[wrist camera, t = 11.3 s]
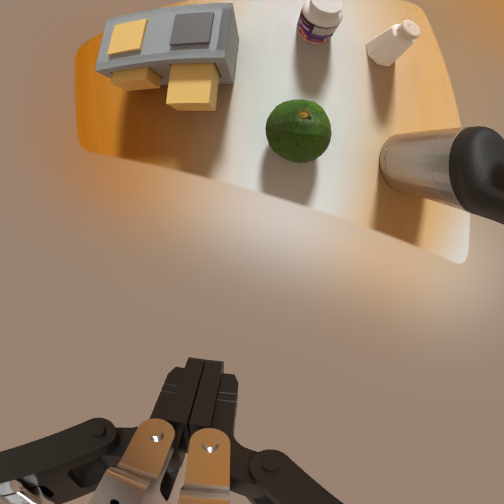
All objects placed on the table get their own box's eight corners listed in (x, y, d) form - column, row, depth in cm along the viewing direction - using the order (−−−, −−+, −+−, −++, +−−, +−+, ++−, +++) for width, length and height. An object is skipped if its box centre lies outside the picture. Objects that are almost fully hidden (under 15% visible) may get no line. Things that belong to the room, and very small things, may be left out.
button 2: (221, 56, 29) (216, 42, 24) (215, 110, 32) (208, 102, 27) (185, 57, 29) (174, 44, 24) (178, 110, 32) (165, 103, 27)
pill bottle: (293, 18, 30) (301, -14, 20) (327, 19, 29) (343, -11, 20) (299, 45, 31) (309, 15, 22) (333, 45, 31) (352, 18, 22)
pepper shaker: (361, 56, 31) (390, 30, 21) (369, 33, 30) (397, 4, 19) (391, 72, 32) (426, 53, 21) (398, 49, 30) (431, 26, 20)
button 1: (167, 38, 28) (156, 24, 23) (159, 88, 30) (146, 78, 26) (136, 43, 28) (121, 31, 23) (127, 91, 30) (110, 83, 26)
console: (238, 38, 31) (231, 0, 20) (233, 84, 34) (223, 55, 23) (139, 45, 31) (105, 17, 20) (131, 88, 34) (92, 69, 23)
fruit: (263, 160, 37) (265, 159, 26) (265, 106, 35) (268, 83, 23) (319, 165, 37) (344, 166, 26) (322, 112, 35) (347, 93, 23)
